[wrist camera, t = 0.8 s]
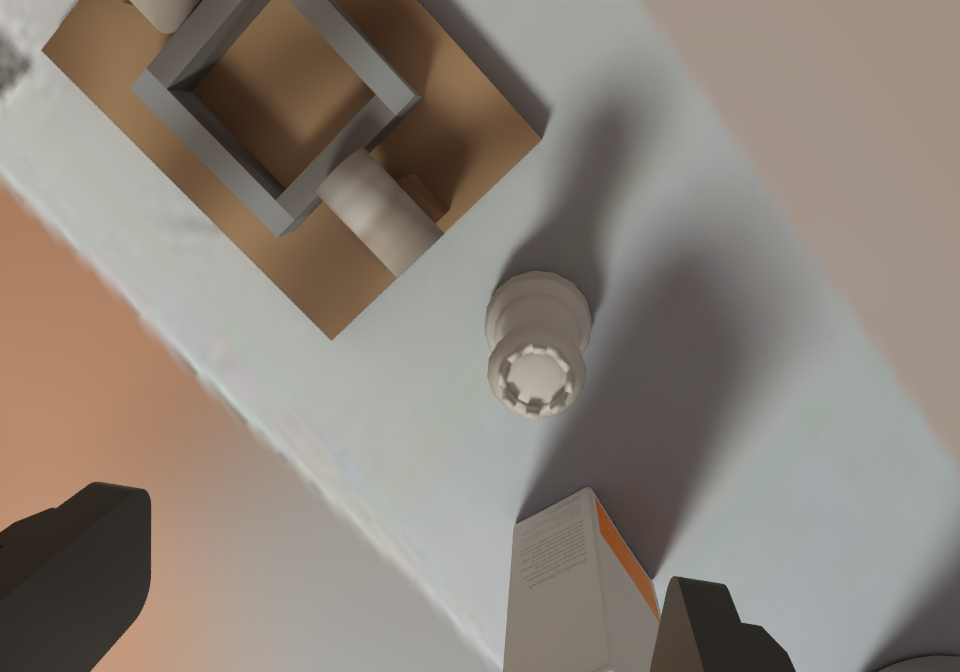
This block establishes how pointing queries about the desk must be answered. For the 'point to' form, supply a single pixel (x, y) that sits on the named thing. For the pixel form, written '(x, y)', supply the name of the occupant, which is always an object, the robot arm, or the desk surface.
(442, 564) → the desk surface
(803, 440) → the desk surface
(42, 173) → the desk surface
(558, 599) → the skincare box
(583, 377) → the rook chess piece
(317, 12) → the frame on base plate
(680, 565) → the desk surface
